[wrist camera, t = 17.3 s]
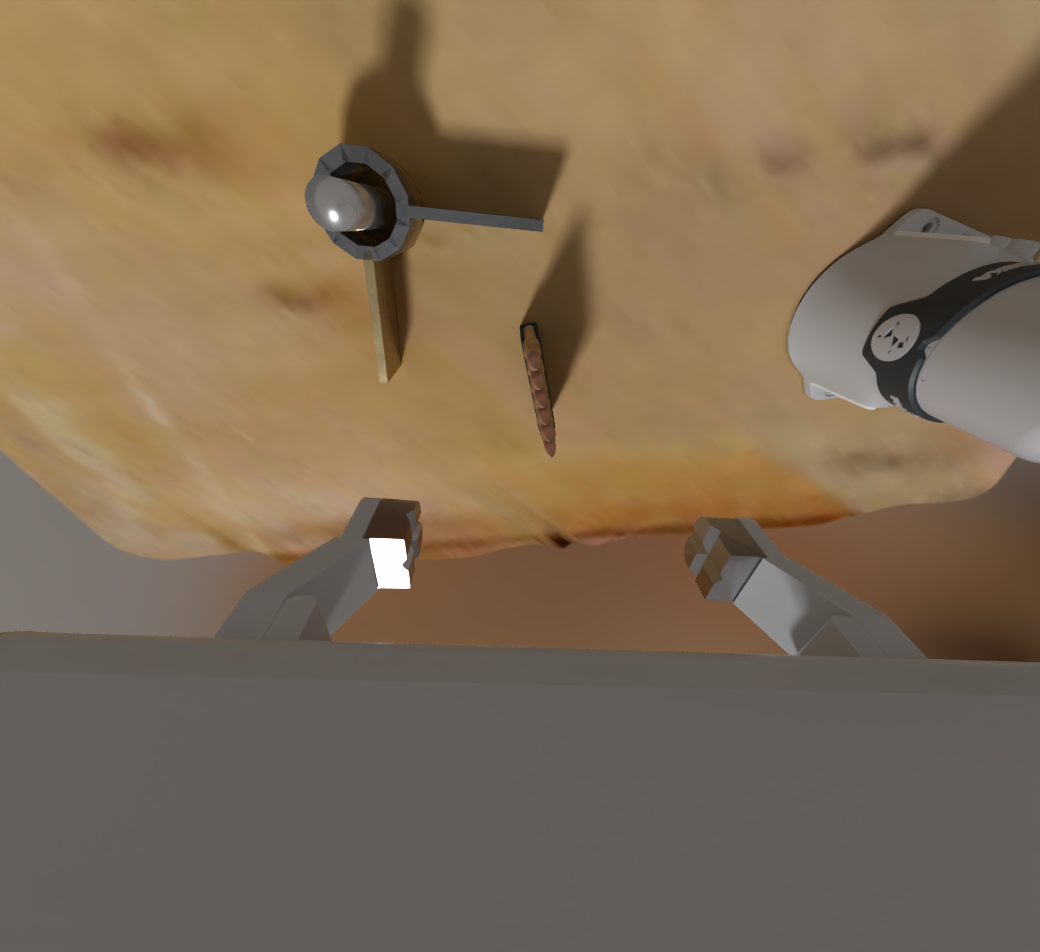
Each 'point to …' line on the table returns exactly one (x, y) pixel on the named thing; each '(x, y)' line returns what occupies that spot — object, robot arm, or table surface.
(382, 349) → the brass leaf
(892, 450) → the table surface
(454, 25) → the table surface
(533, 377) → the ammunition clip
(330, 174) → the steel leaf
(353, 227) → the hinge pin
